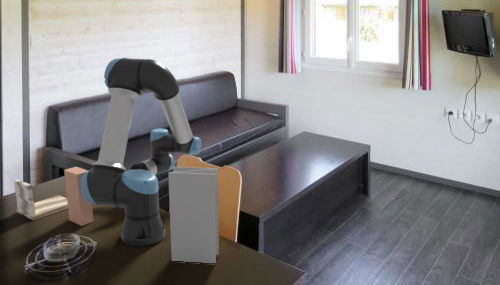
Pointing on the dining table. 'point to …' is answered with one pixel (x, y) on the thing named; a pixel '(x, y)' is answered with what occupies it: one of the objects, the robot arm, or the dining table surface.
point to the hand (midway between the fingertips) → (100, 184)
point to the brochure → (194, 214)
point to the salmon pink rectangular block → (77, 197)
